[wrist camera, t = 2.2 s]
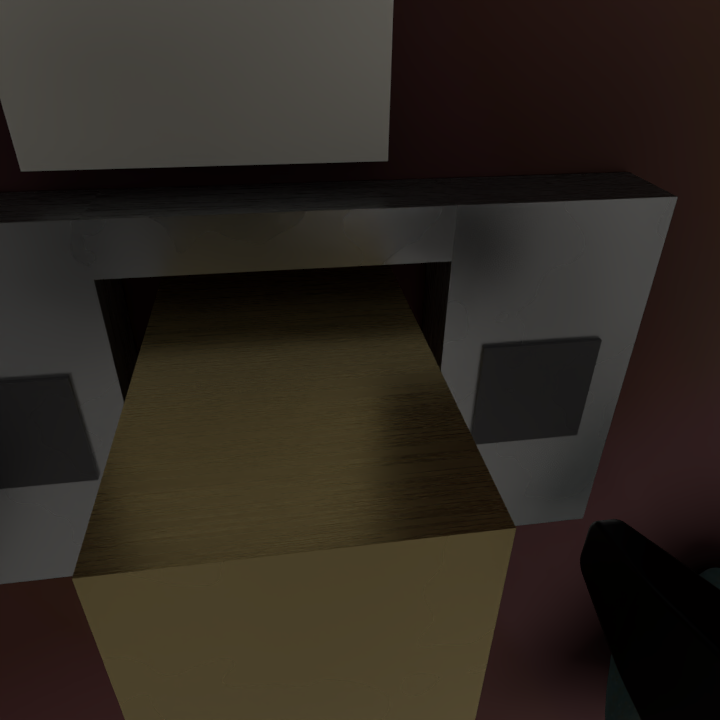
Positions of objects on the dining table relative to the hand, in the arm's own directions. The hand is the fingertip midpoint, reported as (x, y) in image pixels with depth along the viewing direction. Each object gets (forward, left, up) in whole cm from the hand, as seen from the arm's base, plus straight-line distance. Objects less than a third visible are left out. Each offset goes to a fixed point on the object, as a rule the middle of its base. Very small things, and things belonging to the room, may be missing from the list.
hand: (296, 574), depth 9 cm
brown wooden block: (0, 0, -5) cm, 5 cm away
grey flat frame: (0, 0, -5) cm, 5 cm away
